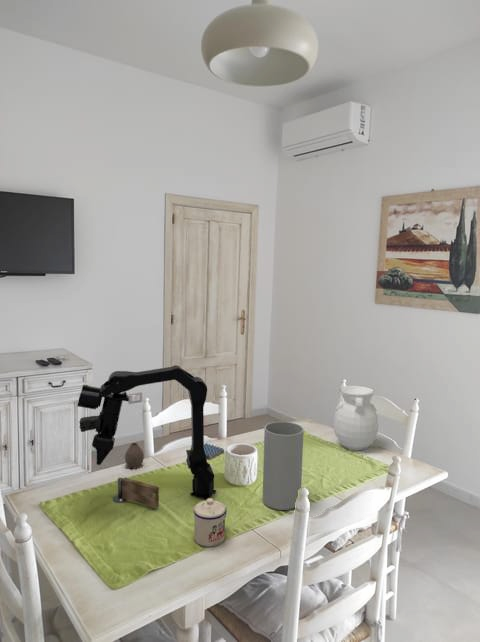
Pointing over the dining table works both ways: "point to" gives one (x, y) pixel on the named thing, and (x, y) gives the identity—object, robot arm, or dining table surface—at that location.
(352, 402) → the pitcher
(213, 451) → the woven mat
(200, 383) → the robot arm
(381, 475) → the dining table surface
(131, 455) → the vase
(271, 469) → the cylinder vase
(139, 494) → the brown wooden plank
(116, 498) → the hinge pin
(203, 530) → the teacup with lid
